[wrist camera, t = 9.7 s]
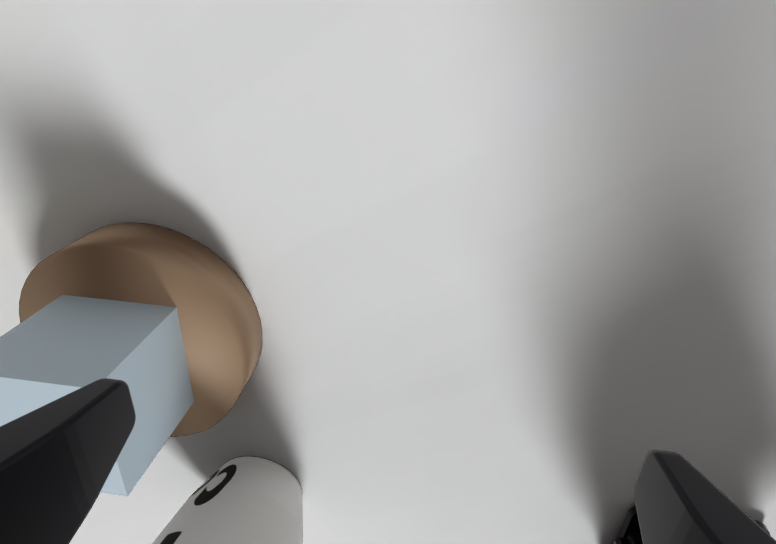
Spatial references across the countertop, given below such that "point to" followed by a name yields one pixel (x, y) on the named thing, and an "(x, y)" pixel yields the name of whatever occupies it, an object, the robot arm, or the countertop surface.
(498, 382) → the countertop surface
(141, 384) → the block
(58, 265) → the brown shallow bowl
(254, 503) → the cup
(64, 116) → the countertop surface
